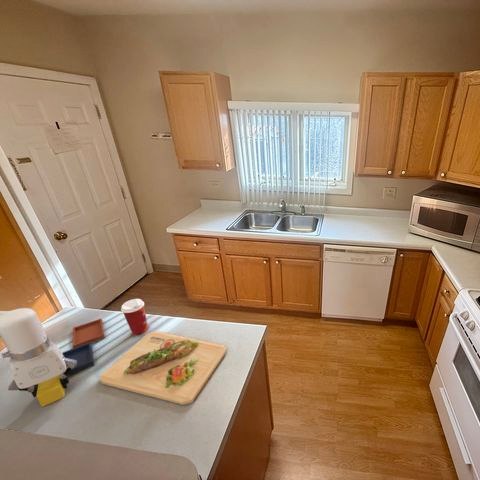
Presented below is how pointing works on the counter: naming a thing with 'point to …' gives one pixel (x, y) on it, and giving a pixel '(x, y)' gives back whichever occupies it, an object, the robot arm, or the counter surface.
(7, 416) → the counter surface
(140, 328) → the paper cup
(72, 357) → the baking tray
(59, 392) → the sponge
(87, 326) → the sponge dish
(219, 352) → the cutting board
